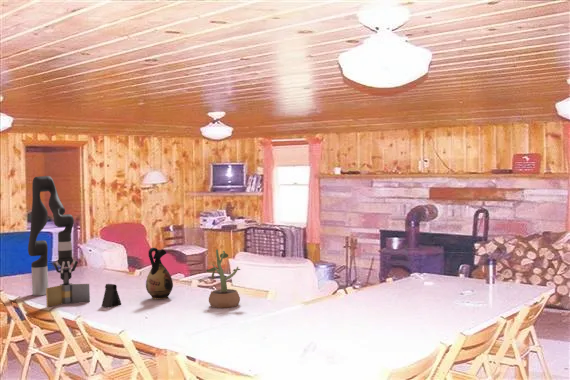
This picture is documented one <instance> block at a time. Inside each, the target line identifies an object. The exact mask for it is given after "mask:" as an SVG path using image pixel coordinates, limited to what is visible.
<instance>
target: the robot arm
mask: <svg viewBox="0 0 570 380" xmlns="http://www.w3.org/2000/svg"><path fill="white" fill-rule="evenodd" d="M31 183H32V187H31V189H32V193H31V194H32V199H31V201H32V203H31V204H32V205H31V211H30V213H31V214H30V231H29V238H28V245H27V253H28V255H29V257H39V256H40V257H39V258H38V259H37V260H34V261H32V262H31V266H30V267H31V286H32V287H31V290H32V292H31V293H32V296H34V297H35V296H37V297H38V296H46V288H49V274H48V272H49V269H48V262H49V261H48V254H49V253H48V251H49V250H48V248H49V247H48V242H47V241H46V240H37V239H38V236H39V234H40V233H41V232H42V230H43V229H44V228H45V226H46V225H47V222H48V215H49V214H48V209H47V207H46V206H45V204H44V203H43V201H42V199H41V193H44V192H49V193H50V196H49V200H48V207H49V209H50V211H51V213H52V216H53V223H54V225H55V226H56V227H57V228H64V230H61V231H58V232H57V240H58V241H57V258H58V259H57V261H56V262H52V265H53V267H54V269H55V270H56V272H57V273H59V274H60V275H59V276H60V277H59V278H60V279H61V280H62V281H63V280H64V277H63V269H64V268H69V269H70V270H69V280H71V278H72V274H73V273H72V272H75V271H76V267H77V265H78V260H74V259H73V244H72V231H73V226H74V222H75V220H74V216H73V215H72V214H67V213H66V209H65V207H64V205H63V203H62V202H61V198H60V196H59V194H58V190H57V188H56V185H55V184H56V183H55V182H54V180H53V178H52V176H50V175H43V176H34V177H33V179H32V182H31ZM72 264H73V265H72ZM58 265H59V266H60V269H59V267H58ZM71 265H72V267H71Z"/></svg>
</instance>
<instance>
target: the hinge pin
mask: <svg viewBox="0 0 570 380" xmlns="http://www.w3.org/2000/svg"><path fill="white" fill-rule="evenodd" d="M69 270H70V269H69V268H68V267H64V269H63V277H64V280H62V284H63V285H69V283H70V279H69Z"/></svg>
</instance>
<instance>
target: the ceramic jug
mask: <svg viewBox="0 0 570 380" xmlns="http://www.w3.org/2000/svg"><path fill="white" fill-rule="evenodd" d="M153 252H154V255H153ZM165 255H167V251H166V250H165V249H158V248H156V247H150V248H149V250H148V258H149V261H150V264H151V269H150V271H149V273H148V274H147V276H146V281H145V289H146V291H147V293H148V294H149V295H150V296H151V299H152V300H167V299H169V296H170V295H171V293H172V291H173V287H174V282H173V279H172V276H171V274H170V272H169V270H168V268H166V266H165V265H164V264H163V262H162V260H161V258H162V257H164V256H165Z"/></svg>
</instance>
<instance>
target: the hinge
mask: <svg viewBox="0 0 570 380" xmlns="http://www.w3.org/2000/svg"><path fill="white" fill-rule="evenodd" d="M90 290H91V289H90V283H70V282H69V285H63V283H60V284H59V285H55V286H50V287H48V288H46V295H45V296H46V298H45V299H46V308H49V307H54V306H59V305H68V304H72V303H73V304H74V303H76V304H77V303H79V302H80V303H90V302H91V296H90V295H91V294H90V292H91V291H90Z"/></svg>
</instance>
